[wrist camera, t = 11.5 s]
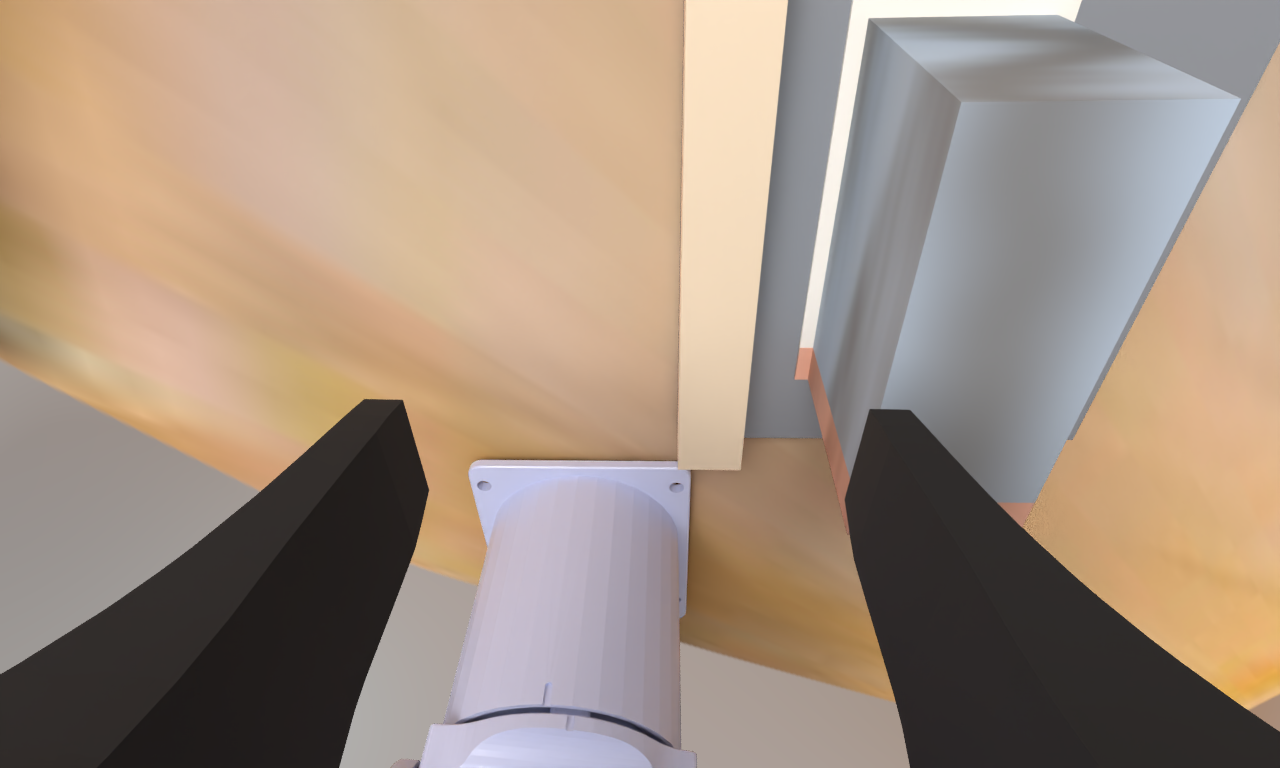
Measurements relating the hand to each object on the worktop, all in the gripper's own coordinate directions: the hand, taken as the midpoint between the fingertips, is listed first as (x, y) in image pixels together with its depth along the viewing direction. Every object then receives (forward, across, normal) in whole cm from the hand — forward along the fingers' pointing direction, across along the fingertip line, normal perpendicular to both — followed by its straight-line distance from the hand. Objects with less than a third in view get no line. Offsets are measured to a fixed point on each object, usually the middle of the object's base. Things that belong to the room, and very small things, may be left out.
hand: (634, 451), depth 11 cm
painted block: (+9, -7, 0) cm, 11 cm away
